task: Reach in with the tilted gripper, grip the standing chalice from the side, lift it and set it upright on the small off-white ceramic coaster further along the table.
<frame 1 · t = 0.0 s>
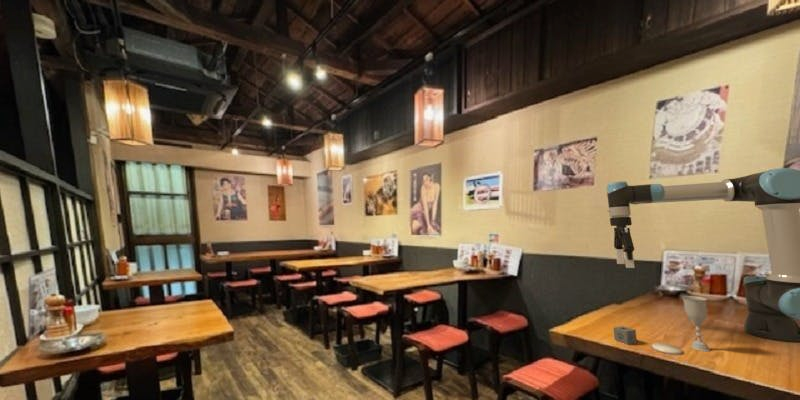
hand: (625, 265, 128), 28 cm above the table, tool pointing down, fingers open, 13 cm apart
coaster: (666, 350, 107), on the table
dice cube: (625, 342, 116), on the table
chalice: (700, 349, 107), on the table
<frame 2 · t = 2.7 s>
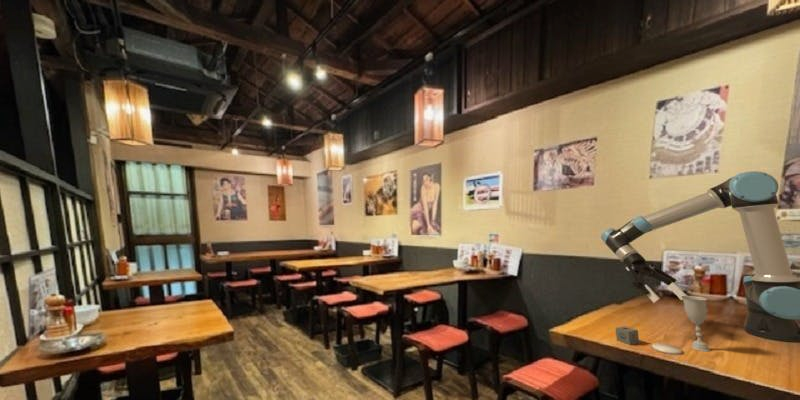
hand: (670, 299, 116), 16 cm above the table, tool tilted 45°, fingers open, 13 cm apart
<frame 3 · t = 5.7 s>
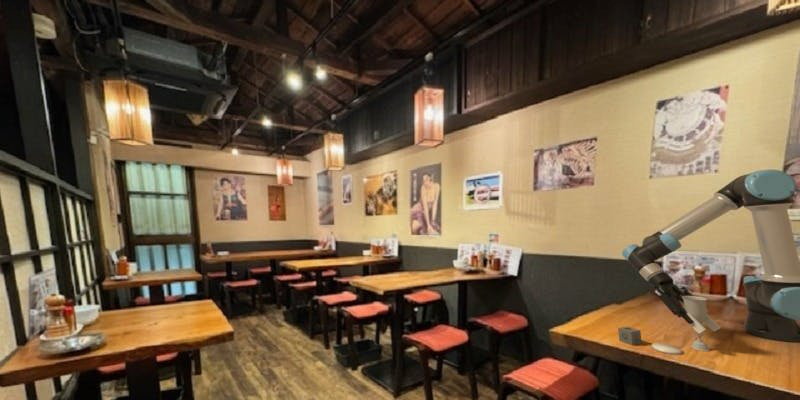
hand: (709, 330, 105), 7 cm above the table, tool tilted 45°, fingers closed on chalice, 6 cm apart
chalice: (700, 349, 107), on the table, touching gripper
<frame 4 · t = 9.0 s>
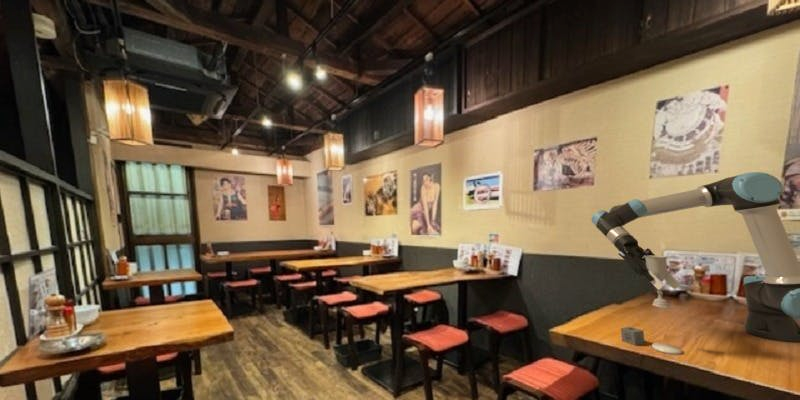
hand: (669, 287, 106), 23 cm above the table, tool tilted 45°, fingers closed on chalice, 6 cm apart
chalice: (661, 306, 109), point 15 cm above the table, touching gripper
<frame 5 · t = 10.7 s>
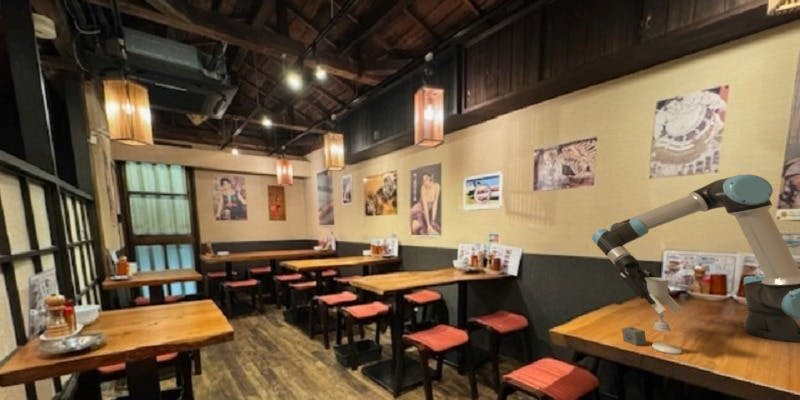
hand: (670, 310, 105), 15 cm above the table, tool tilted 45°, fingers closed on chalice, 6 cm apart
chalice: (662, 329, 108), point 7 cm above the table, touching gripper
when the fingers open (10 cm above the table, at t = 12.3 s): chalice drops 1 cm, resting on coaster.
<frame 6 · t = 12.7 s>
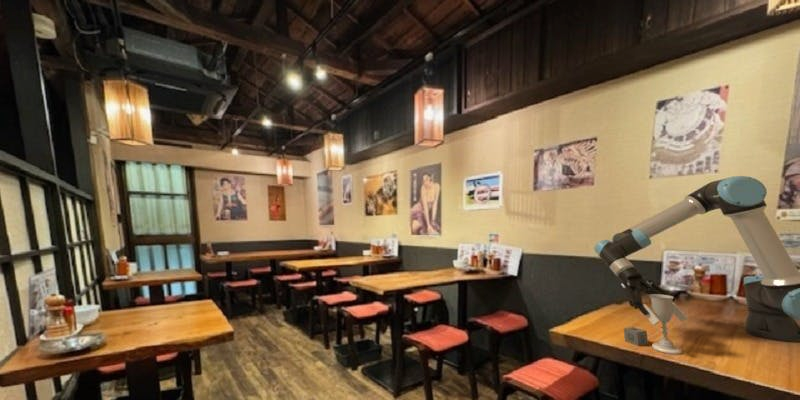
hand: (670, 321, 106), 11 cm above the table, tool tilted 45°, fingers open, 12 cm apart
chalice: (666, 347, 107), point 1 cm above the table, touching coaster
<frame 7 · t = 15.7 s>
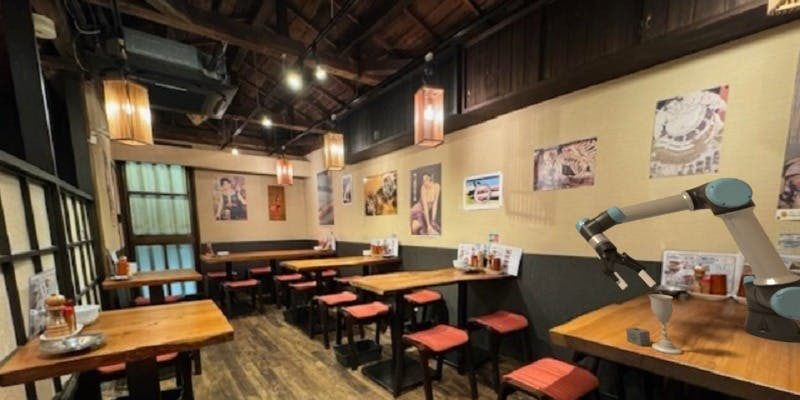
hand: (639, 286, 117), 21 cm above the table, tool tilted 45°, fingers open, 13 cm apart
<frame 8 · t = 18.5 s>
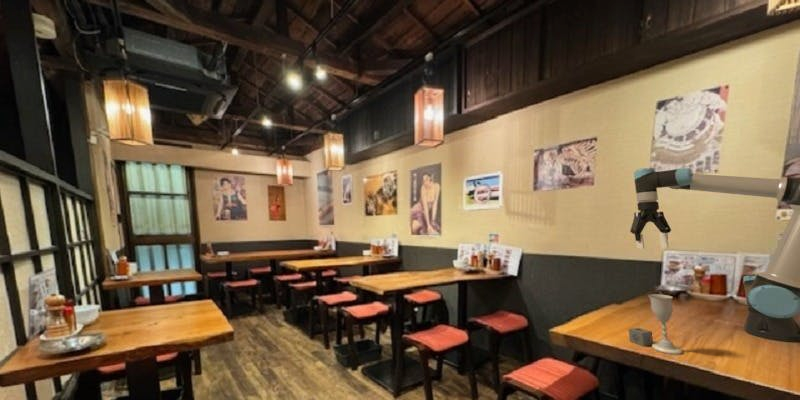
hand: (652, 247, 135), 35 cm above the table, tool pointing down, fingers open, 13 cm apart
at the end: chalice 0.1 cm off-centre on the coaster, point 0.8 cm above the coaster's base; chalice touching coaster; chalice tilted 0° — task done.
